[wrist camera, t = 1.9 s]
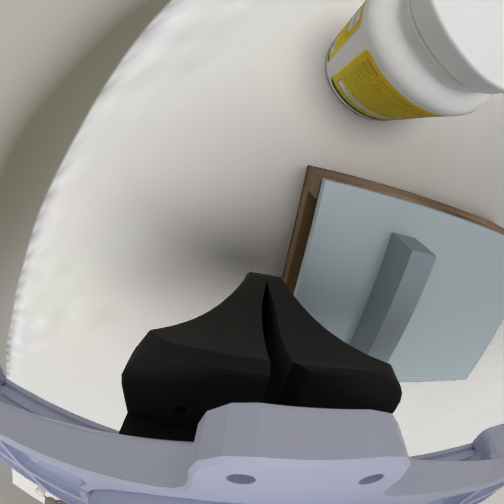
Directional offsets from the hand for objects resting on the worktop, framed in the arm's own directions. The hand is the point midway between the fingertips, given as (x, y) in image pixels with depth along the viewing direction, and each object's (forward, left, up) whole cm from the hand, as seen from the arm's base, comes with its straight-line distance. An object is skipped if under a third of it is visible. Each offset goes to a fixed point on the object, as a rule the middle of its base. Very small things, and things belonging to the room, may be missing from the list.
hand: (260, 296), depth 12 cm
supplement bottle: (-4, -11, -5) cm, 13 cm away
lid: (-8, 0, -1) cm, 8 cm away
